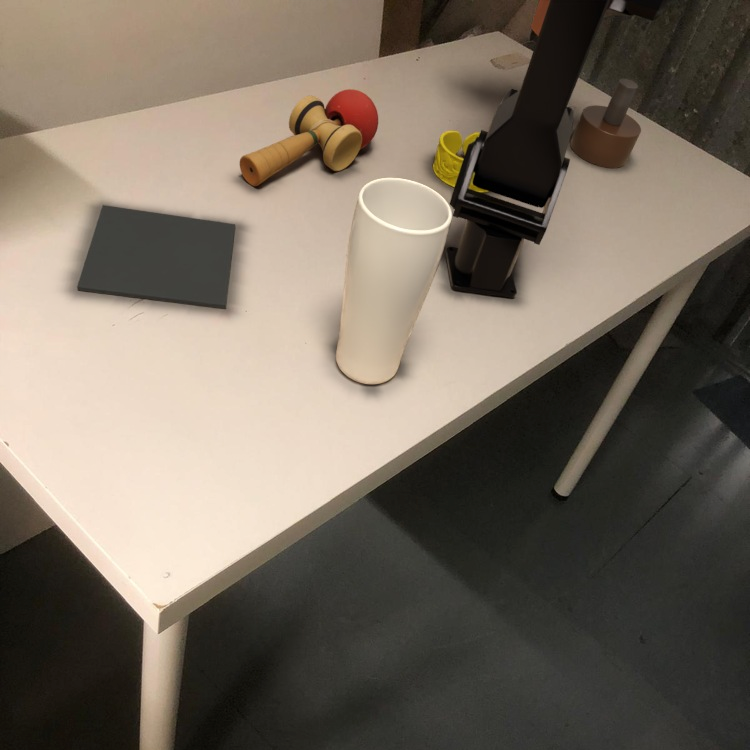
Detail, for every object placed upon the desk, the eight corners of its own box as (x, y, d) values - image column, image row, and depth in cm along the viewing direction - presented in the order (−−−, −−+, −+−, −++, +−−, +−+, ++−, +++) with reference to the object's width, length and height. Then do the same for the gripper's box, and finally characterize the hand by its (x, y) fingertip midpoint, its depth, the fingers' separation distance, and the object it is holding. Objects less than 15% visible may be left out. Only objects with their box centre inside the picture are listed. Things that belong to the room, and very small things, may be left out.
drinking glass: (357, 327, 66) (393, 165, 54) (420, 366, 64) (471, 209, 52) (309, 363, 62) (337, 197, 50) (375, 406, 60) (420, 246, 48)
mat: (225, 309, 64) (225, 305, 63) (77, 290, 61) (76, 286, 61) (235, 227, 71) (235, 224, 71) (103, 208, 69) (102, 204, 68)
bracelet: (509, 193, 85) (519, 166, 82) (445, 192, 82) (453, 164, 80) (486, 158, 89) (495, 131, 86) (424, 156, 86) (431, 127, 84)
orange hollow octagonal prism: (593, 49, 87) (620, -19, 82) (547, 45, 85) (571, -25, 80) (569, 25, 91) (593, -43, 85) (523, 20, 88) (545, -49, 83)
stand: (633, 172, 94) (666, 104, 87) (576, 162, 93) (606, 92, 86) (618, 141, 99) (649, 74, 92) (564, 131, 97) (592, 63, 91)
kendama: (282, 218, 75) (396, 147, 84) (273, 156, 71) (396, 88, 79) (230, 193, 79) (345, 127, 87) (218, 133, 74) (342, 69, 82)
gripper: (728, -146, 70) (671, -41, 85) (539, -207, 70) (516, -92, 86) (685, -25, 71) (636, 57, 87) (499, -86, 71) (483, 6, 87)
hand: (569, 5), depth 86 cm, fingers closed on orange hollow octagonal prism, 7 cm apart
